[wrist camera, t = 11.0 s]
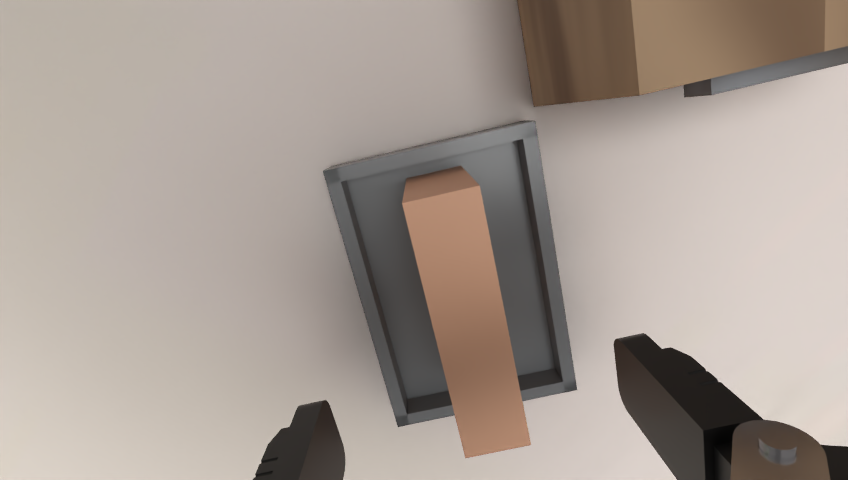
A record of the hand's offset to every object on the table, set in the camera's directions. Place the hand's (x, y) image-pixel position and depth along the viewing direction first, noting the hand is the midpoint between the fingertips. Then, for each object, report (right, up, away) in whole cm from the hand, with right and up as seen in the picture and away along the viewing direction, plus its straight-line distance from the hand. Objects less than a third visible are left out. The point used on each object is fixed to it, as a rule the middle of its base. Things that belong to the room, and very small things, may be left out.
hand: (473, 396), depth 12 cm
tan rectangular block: (0, +3, +9) cm, 9 cm away
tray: (0, +3, +9) cm, 10 cm away
